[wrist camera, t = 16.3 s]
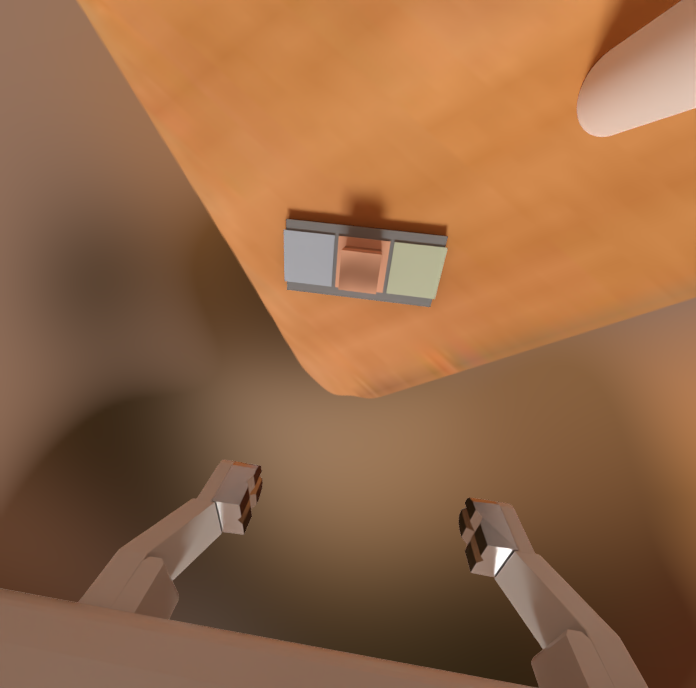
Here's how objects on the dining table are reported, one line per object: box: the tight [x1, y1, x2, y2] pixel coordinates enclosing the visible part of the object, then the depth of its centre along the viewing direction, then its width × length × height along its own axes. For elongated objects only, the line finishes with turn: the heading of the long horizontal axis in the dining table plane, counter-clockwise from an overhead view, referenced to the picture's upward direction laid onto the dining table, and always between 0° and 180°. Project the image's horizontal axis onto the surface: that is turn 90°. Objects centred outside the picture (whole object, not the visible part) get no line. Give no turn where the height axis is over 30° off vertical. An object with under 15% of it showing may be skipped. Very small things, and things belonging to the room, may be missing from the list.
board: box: [284, 219, 448, 307], centre depth 35 cm, size 9×20×2 cm, turn 84°
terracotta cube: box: [338, 245, 382, 294], centre depth 32 cm, size 4×4×4 cm
